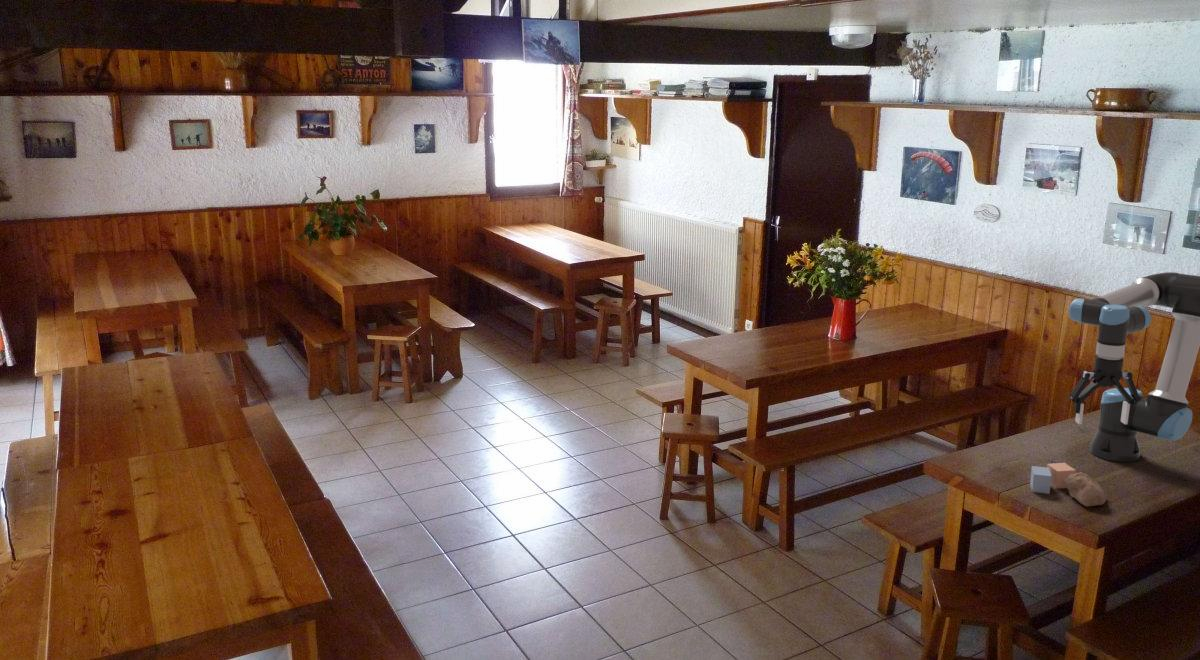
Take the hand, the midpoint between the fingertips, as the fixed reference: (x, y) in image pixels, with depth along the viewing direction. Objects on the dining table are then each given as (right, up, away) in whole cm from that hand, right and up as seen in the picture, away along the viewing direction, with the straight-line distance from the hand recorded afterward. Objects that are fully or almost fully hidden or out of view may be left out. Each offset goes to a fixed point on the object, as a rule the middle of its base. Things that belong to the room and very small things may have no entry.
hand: (1101, 423), depth 284 cm
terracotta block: (-6, -21, +14) cm, 26 cm away
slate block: (-14, -22, +11) cm, 28 cm away
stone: (-3, -24, +2) cm, 25 cm away
